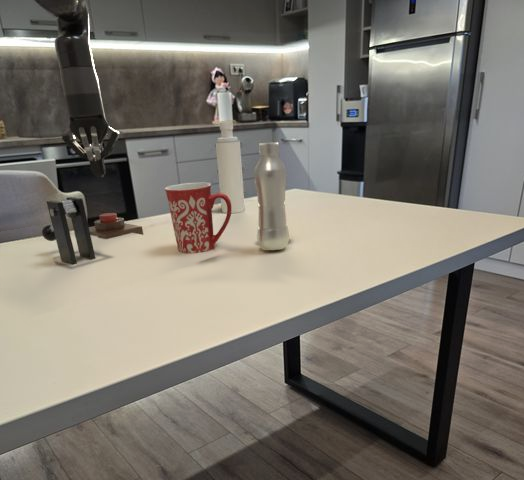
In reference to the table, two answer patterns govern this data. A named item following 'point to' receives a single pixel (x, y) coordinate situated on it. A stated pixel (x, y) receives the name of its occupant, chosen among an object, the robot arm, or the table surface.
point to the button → (108, 217)
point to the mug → (194, 216)
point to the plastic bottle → (271, 198)
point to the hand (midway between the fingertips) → (99, 177)
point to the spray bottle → (230, 168)
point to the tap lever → (69, 212)
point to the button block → (113, 229)
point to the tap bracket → (64, 235)
